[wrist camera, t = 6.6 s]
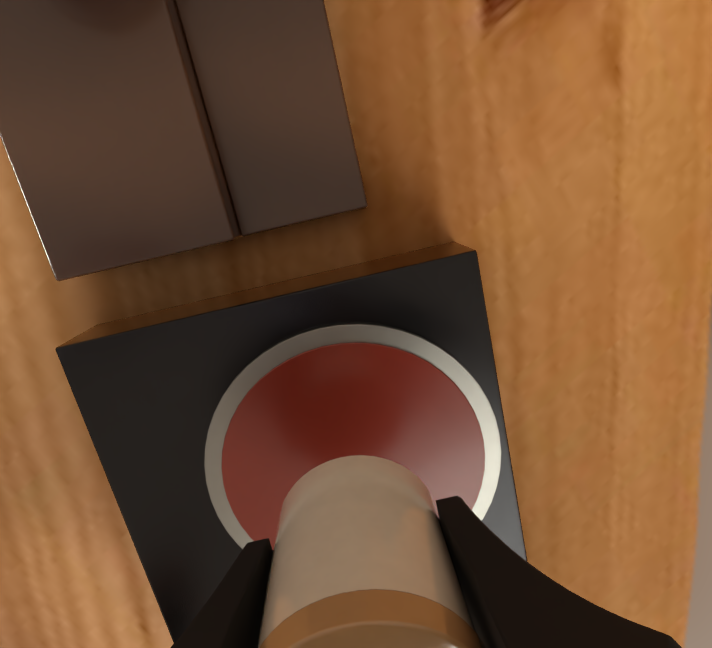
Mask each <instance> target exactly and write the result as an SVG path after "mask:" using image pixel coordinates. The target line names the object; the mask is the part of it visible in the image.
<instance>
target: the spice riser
mask: <svg viewBox="0 0 712 648" xmlns="http://www.w3.org/2000/svg"><path fill="white" fill-rule="evenodd" d="M0 137H1V139H2V142H3V145H4V147H5V150H6V152H7V155H8V157H9V160H10V163H11V165H12V168H13V170H14V173H15V175H16V178H17V181H18V183H19V186H20V188H21V191H22V193H23V196H24V199H25V201H26V204H27V206H28V209H29V212H30V214H31V217H32V219H33V222H34V224H35V227H36V230H37V232H38V235H39V237H40V240H41V242H42V245H43V248H44V250H45V253H46V255H47V258H48V260H49V263H50V266H51V268H52V271H53V273H54V276H55V278H56V280H57V281H62V280H66V279H71V278H75V277H79V276H83V275H88V274H92V273H96V272H100V271H105V270H109V269H113V268H117V267H122V266H126V265H130V264H134V263H139V262H143V261H147V260H151V259H156V258H160V257H164V256H168V255H173V254H177V253H181V252H186V251H190V250H194V249H198V248H203V247H207V246H211V245H215V244H220V243H224V242H228V241H232V240H235V239H237V238H239V237H241V236H247V235H251V234H255V233H260V232H264V231H268V230H272V229H277V228H281V227H285V226H289V225H294V224H298V223H302V222H306V221H311V220H315V219H319V218H323V217H328V216H332V215H336V214H340V213H345V212H349V211H353V210H357V209H362V208H366V207H367V200H366V195H365V191H364V186H363V182H362V177H361V172H360V168H359V163H358V158H357V154H356V149H355V144H354V140H353V135H352V130H351V126H350V121H349V117H348V112H347V107H346V103H345V98H344V93H343V89H342V84H341V79H340V75H339V70H338V65H337V61H336V56H335V52H334V47H333V42H332V38H331V33H330V28H329V24H328V19H327V14H326V10H325V5H324V0H0Z"/></svg>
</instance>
